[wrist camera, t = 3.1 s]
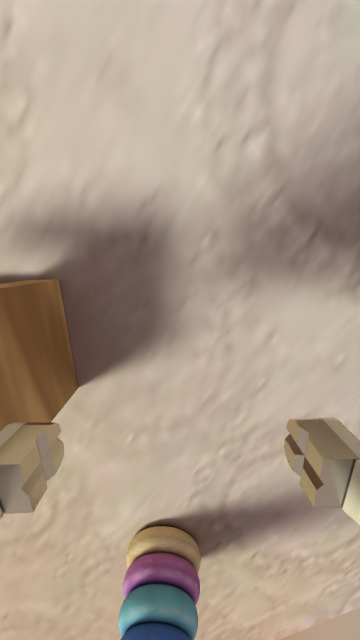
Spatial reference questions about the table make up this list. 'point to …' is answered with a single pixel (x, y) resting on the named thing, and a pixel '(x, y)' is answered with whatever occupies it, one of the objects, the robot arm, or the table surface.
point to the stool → (34, 352)
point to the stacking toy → (161, 586)
